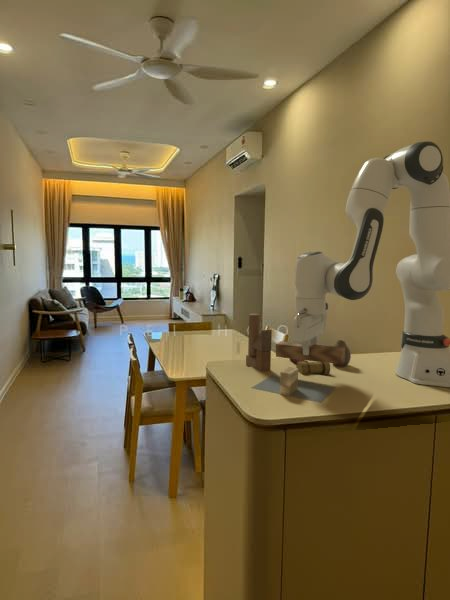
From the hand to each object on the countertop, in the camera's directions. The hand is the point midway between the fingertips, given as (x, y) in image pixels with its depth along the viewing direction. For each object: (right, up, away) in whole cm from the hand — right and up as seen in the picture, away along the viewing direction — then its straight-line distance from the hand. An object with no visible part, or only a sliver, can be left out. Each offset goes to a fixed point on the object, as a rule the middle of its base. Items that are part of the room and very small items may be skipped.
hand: (309, 352), depth 119 cm
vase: (+15, -7, +19) cm, 25 cm away
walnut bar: (0, -2, 0) cm, 2 cm away
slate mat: (-6, -10, -7) cm, 13 cm away
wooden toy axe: (-14, -7, +14) cm, 21 cm away
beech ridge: (-8, -9, -11) cm, 16 cm away
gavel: (+1, -8, +17) cm, 19 cm away
